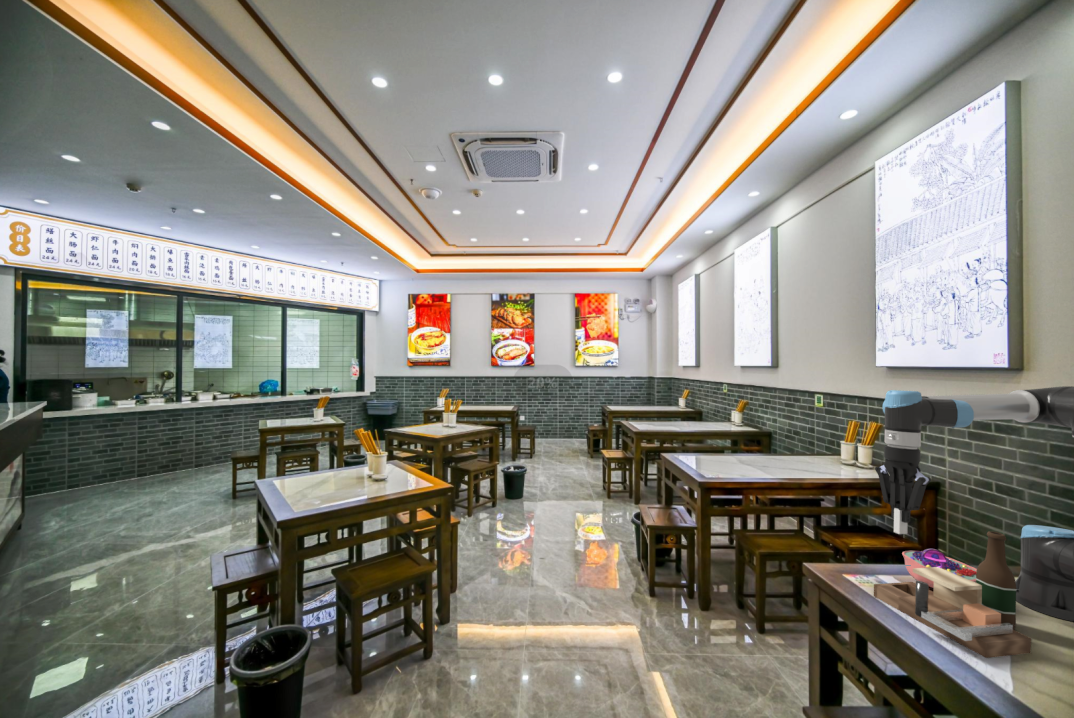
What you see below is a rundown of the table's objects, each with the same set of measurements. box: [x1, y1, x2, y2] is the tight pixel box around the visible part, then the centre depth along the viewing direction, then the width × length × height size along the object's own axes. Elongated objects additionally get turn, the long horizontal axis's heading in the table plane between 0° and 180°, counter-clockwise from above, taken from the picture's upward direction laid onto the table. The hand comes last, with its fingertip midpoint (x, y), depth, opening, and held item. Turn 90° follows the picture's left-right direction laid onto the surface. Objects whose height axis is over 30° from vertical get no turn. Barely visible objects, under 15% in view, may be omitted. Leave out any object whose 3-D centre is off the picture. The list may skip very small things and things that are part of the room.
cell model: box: [901, 548, 977, 589], centre depth 128 cm, size 17×20×11 cm
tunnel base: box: [873, 581, 1032, 659], centre depth 111 cm, size 14×26×4 cm, turn 11°
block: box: [963, 603, 1001, 626], centre depth 104 cm, size 5×4×4 cm
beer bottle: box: [976, 530, 1017, 631], centre depth 112 cm, size 8×8×24 cm
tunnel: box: [913, 567, 982, 609], centre depth 112 cm, size 9×10×8 cm
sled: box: [915, 580, 1013, 641], centre depth 104 cm, size 16×11×8 cm
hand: (900, 532), depth 114 cm, fingers closed
